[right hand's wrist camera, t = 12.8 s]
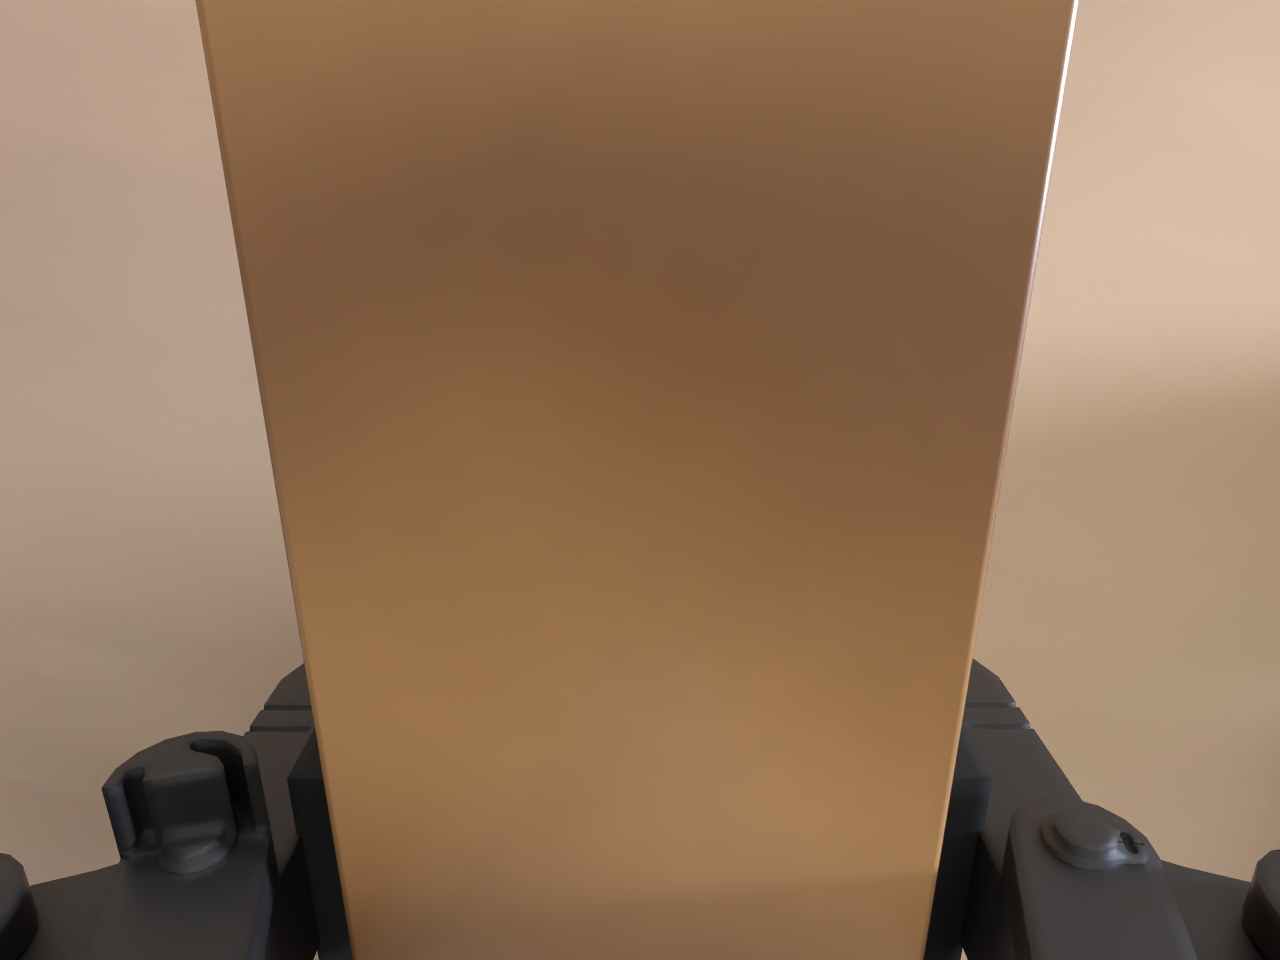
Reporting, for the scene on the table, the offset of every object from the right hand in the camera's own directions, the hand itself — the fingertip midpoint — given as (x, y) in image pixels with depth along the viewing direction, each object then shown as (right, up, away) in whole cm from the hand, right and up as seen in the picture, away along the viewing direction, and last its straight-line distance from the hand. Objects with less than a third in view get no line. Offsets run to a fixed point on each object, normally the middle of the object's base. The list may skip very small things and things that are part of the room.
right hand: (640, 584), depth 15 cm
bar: (0, +10, -3) cm, 10 cm away
